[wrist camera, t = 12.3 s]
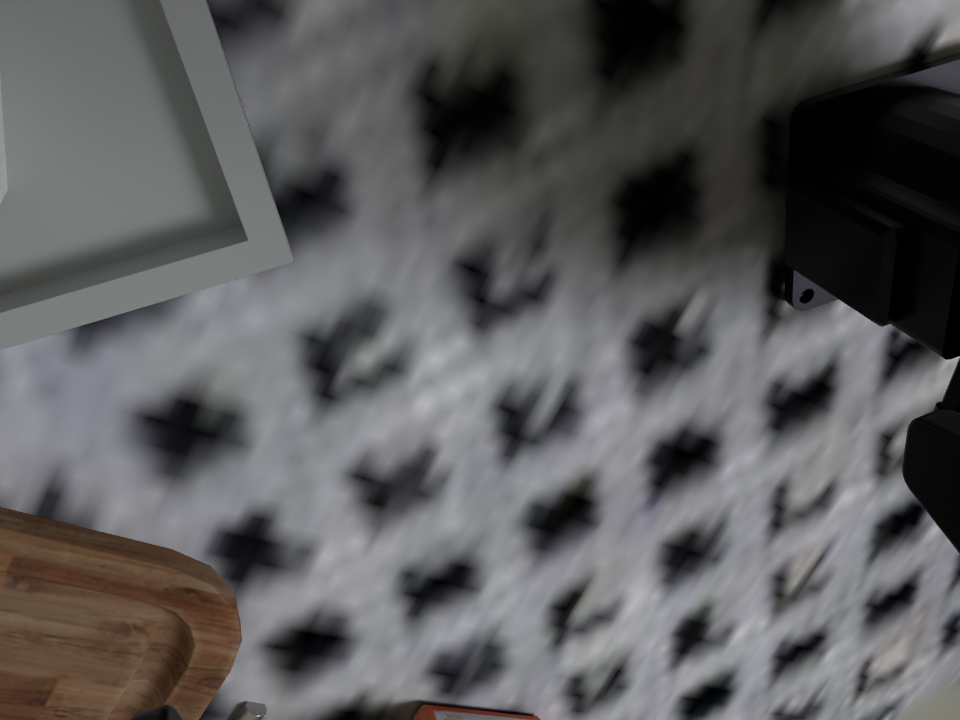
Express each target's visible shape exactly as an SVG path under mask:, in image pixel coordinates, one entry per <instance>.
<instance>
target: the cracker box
mask: <svg viewBox="0 0 960 720" xmlns="http://www.w3.org/2000/svg"><path fill="white" fill-rule="evenodd" d="M412 720H540V719H539V718H538V717H537V716H528V715H516V714H507V713H499V712H489V711H479V710H472V709H463V708H454V707H445V706H435V705H423V706H421V707H420V708H419V709H418V711H417V713H416V714H415V716H414V717H413V719H412Z"/></svg>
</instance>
